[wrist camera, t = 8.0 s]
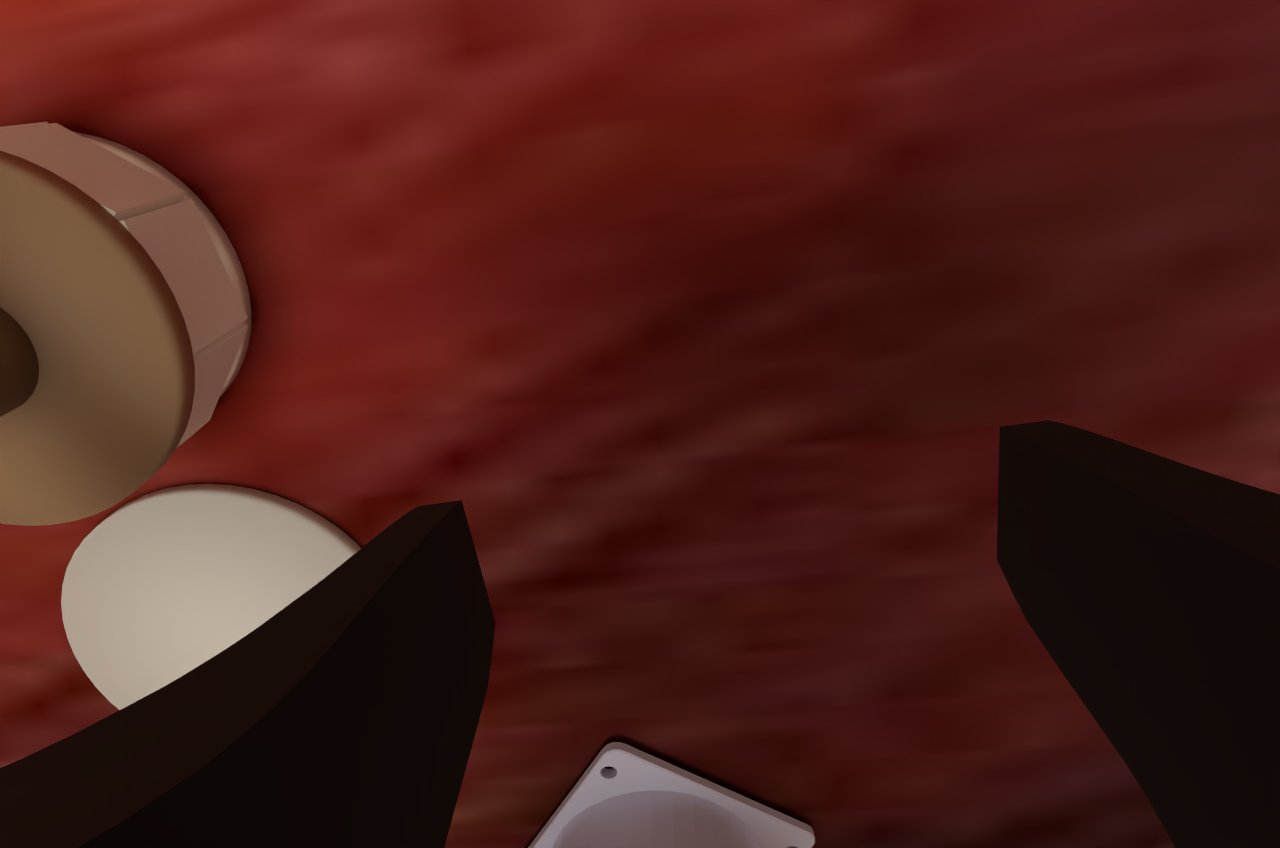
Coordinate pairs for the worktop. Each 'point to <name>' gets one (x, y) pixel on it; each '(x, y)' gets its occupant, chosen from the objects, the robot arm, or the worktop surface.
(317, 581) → the coaster
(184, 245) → the bowl
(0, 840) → the robot arm
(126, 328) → the lid
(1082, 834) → the worktop surface
